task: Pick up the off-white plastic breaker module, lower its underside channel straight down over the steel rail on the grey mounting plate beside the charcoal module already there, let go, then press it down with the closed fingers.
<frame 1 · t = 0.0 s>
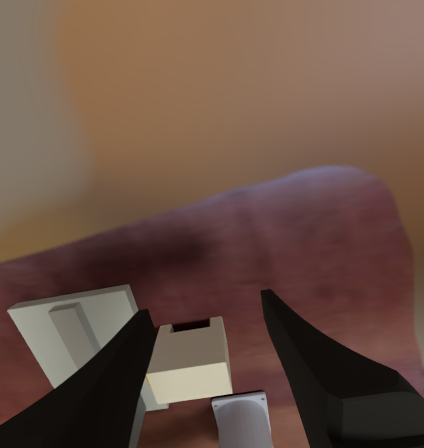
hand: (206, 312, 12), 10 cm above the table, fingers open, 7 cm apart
module: (194, 334, 26), on the table
rail plate: (101, 355, 26), on the table
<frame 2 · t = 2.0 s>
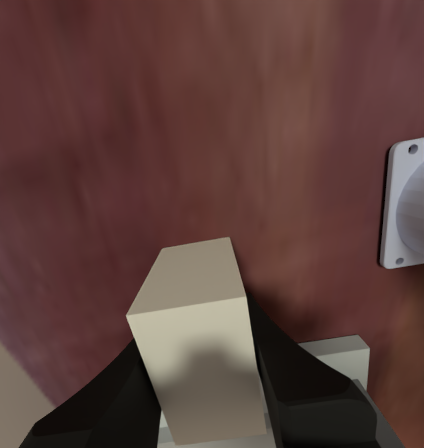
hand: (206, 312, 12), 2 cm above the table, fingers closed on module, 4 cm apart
module: (206, 293, 14), on the table, touching gripper
rail plate: (243, 410, 18), on the table
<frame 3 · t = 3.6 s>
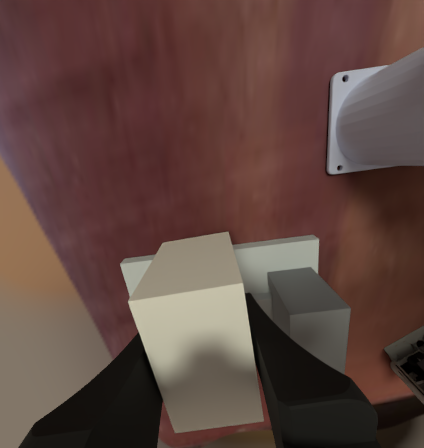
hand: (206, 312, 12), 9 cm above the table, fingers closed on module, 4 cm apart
module: (206, 287, 14), point 7 cm above the table, touching gripper
rail plate: (225, 301, 23), on the table
electrical switch: (410, 337, 25), on the table
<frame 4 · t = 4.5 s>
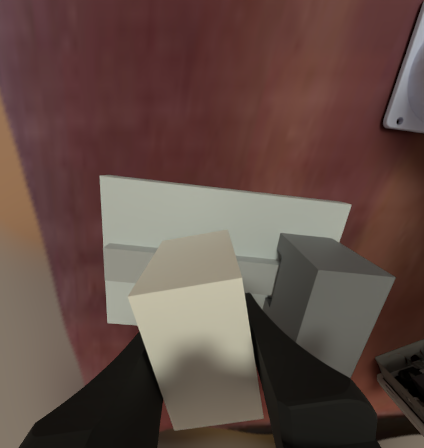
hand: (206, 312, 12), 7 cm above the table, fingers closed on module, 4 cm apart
module: (205, 285, 14), point 4 cm above the table, touching gripper
rail plate: (218, 262, 19), on the table
electrical switch: (405, 349, 23), on the table
when the fingers open (4 cm above the table, at t = 5.4 s): module stays where it is, resting on rail plate.
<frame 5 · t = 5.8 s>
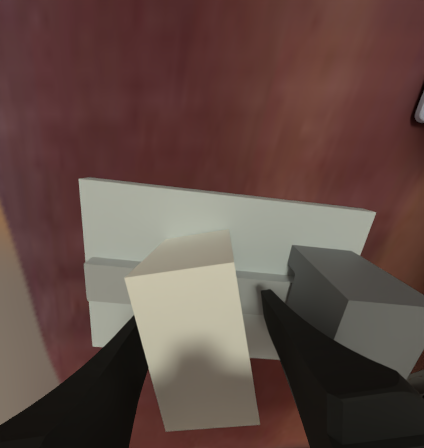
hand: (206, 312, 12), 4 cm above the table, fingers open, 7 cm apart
module: (206, 286, 14), point 2 cm above the table, tilted 8°, touching rail plate
rail plate: (219, 277, 16), on the table
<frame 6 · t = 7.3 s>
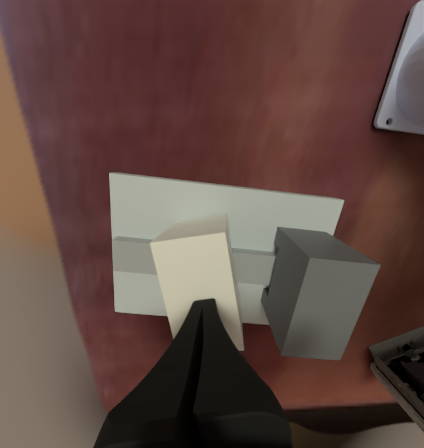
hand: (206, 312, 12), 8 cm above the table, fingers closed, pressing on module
module: (209, 260, 18), point 2 cm above the table, tilted 7°, touching gripper, rail plate
rail plate: (218, 255, 20), on the table
electrical switch: (397, 339, 24), on the table
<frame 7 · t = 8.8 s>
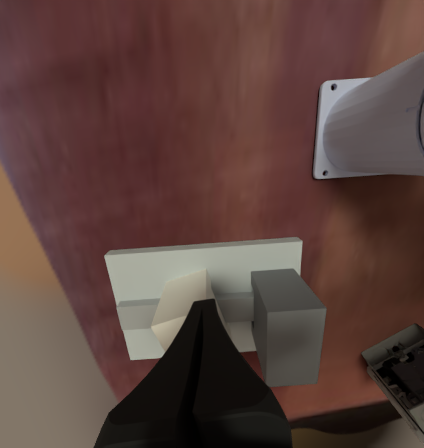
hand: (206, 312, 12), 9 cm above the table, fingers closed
module: (199, 304, 22), point 1 cm above the table, touching rail plate
rail plate: (208, 299, 23), on the table
electrical switch: (387, 342, 26), on the table
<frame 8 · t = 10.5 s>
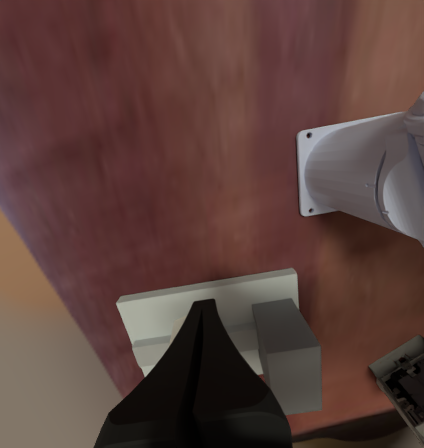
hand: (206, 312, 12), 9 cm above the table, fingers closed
rail plate: (215, 329, 25), on the table
electrical switch: (393, 354, 27), on the table
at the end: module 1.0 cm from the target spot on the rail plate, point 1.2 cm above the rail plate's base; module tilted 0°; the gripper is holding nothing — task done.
